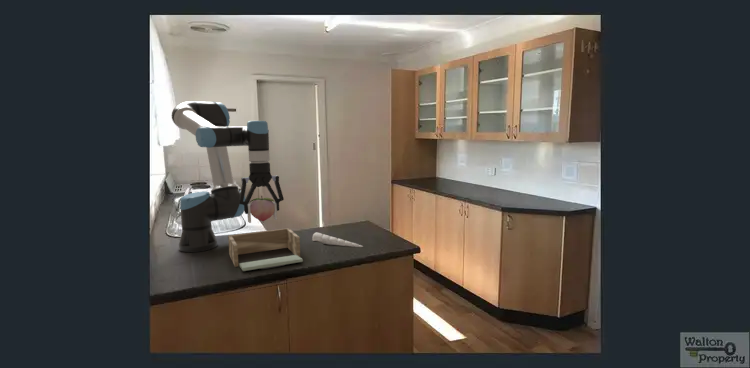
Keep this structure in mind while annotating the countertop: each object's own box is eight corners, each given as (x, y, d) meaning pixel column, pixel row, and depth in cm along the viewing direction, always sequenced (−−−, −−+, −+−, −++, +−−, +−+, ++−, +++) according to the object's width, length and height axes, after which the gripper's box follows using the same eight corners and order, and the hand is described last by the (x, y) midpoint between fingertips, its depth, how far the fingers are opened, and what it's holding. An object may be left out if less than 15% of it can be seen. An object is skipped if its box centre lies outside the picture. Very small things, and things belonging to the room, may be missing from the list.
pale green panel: (239, 263, 149) (242, 268, 141) (296, 254, 158) (302, 258, 150) (239, 267, 149) (243, 272, 141) (296, 258, 158) (302, 263, 150)
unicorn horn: (359, 250, 171) (359, 239, 170) (311, 244, 181) (310, 233, 181) (364, 247, 175) (364, 236, 174) (317, 241, 185) (317, 231, 185)
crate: (229, 257, 162) (228, 235, 161) (289, 249, 173) (288, 228, 172) (235, 270, 148) (233, 245, 147) (300, 259, 159) (299, 237, 157)
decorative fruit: (276, 218, 163) (275, 193, 162) (274, 222, 155) (273, 196, 154) (252, 219, 162) (250, 194, 160) (248, 224, 154) (247, 197, 152)
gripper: (285, 160, 163) (288, 215, 166) (227, 162, 154) (231, 221, 157) (290, 161, 157) (293, 219, 160) (230, 164, 147) (234, 225, 150)
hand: (262, 220), depth 158 cm, fingers closed on decorative fruit, 9 cm apart
